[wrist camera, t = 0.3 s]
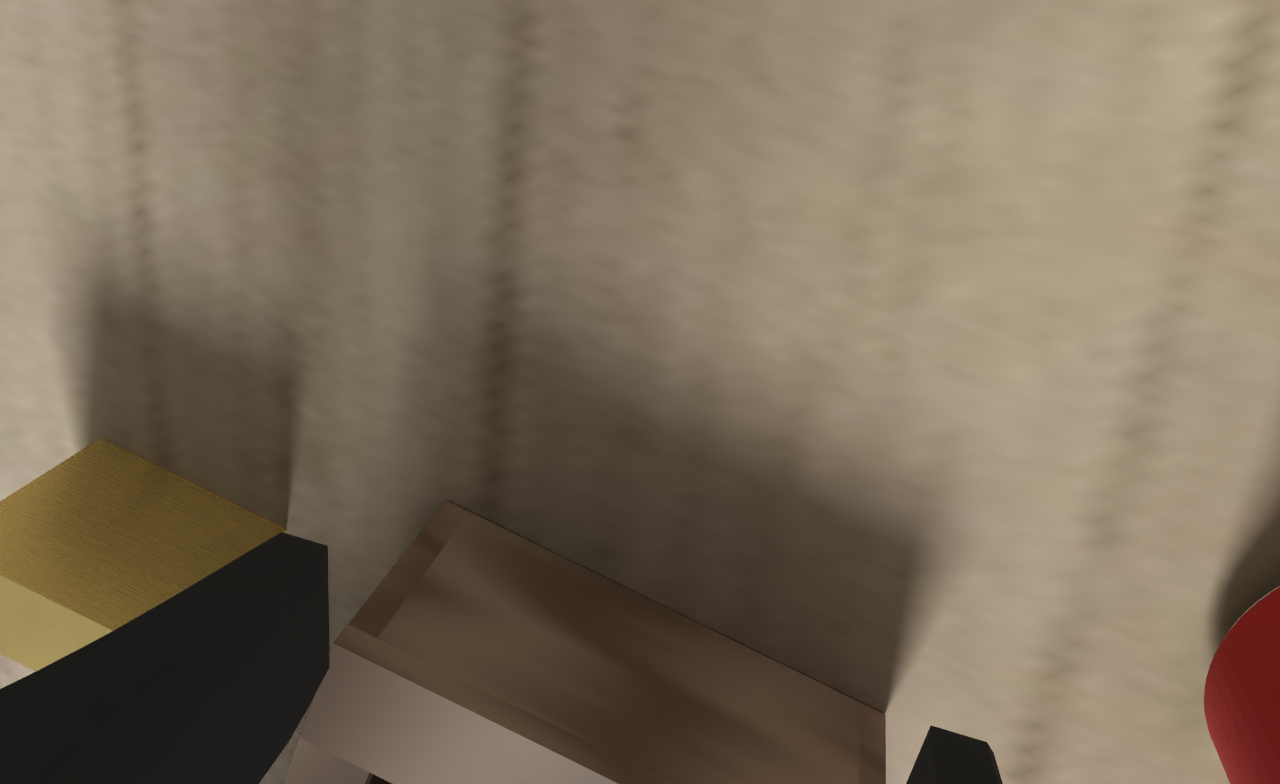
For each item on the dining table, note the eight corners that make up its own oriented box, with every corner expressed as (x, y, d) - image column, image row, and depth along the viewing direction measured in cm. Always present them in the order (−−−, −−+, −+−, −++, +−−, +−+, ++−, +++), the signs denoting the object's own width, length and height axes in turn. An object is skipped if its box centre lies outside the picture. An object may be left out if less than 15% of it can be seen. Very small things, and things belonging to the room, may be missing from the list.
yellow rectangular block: (87, 501, 27) (-75, 616, 22) (101, 437, 26) (-65, 542, 21) (267, 590, 26) (140, 723, 22) (287, 528, 26) (159, 653, 21)
